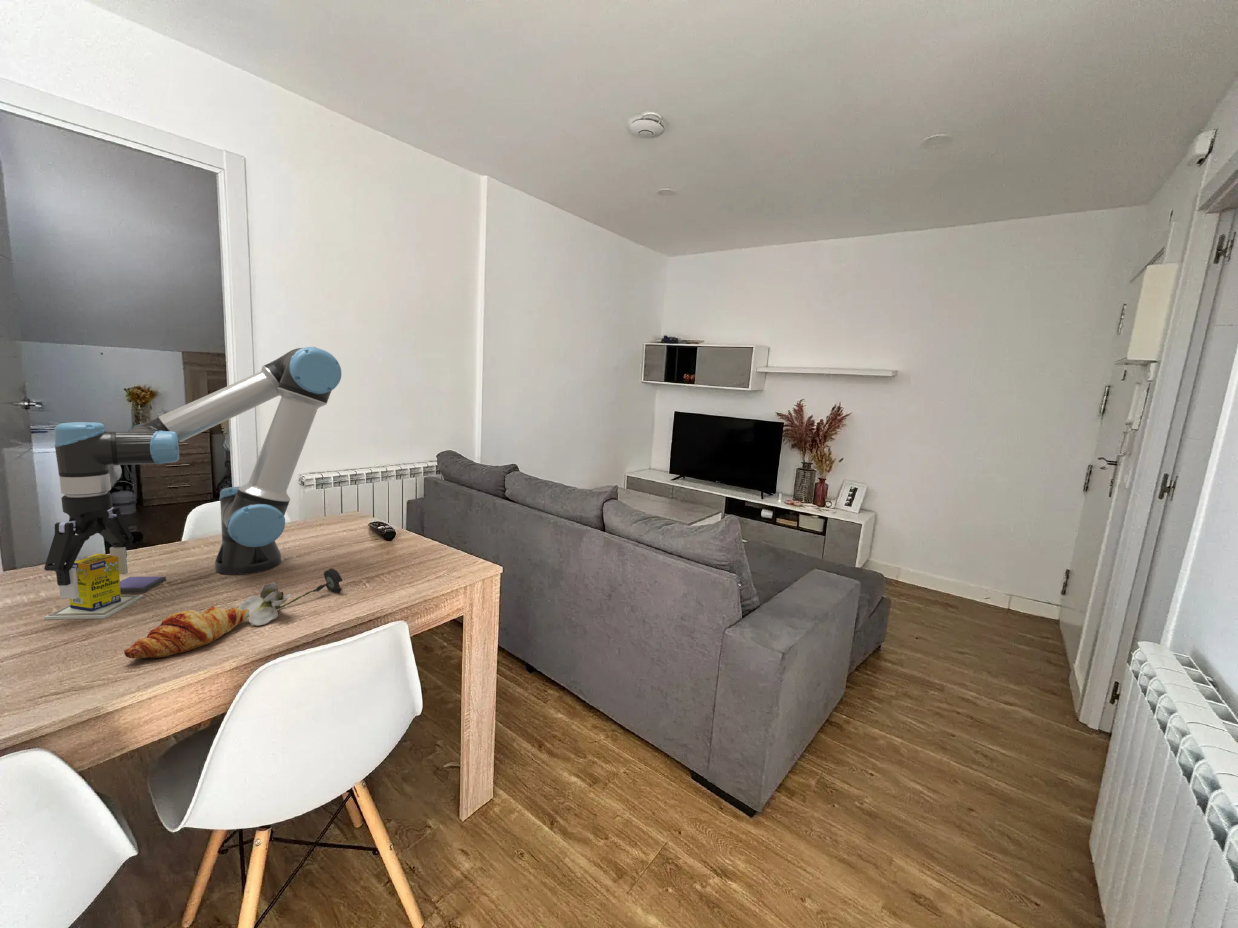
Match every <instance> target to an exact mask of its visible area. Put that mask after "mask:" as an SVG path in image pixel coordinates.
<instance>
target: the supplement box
mask: <svg viewBox="0 0 1238 928" xmlns="http://www.w3.org/2000/svg"><path fill="white" fill-rule="evenodd" d="M72 568H76V575H77V584H78V593H79V597H78V598H76V599H69V604H70V608H74V609H81V610H86V611H94V610H97V609H99V608H102V607H105V606H108V605H111V604H113V603H117V602H120V601H121V595H122V593H121V592H120V581H121V579H120V574H119V564H118V556H111V555H110V554H106V553H105V554H104V553H95V554H93V555H88V556H84V557H80V558H76V560H75V562H74V564H73V566H72Z"/></svg>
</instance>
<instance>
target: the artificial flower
mask: <svg viewBox="0 0 1238 928" xmlns="http://www.w3.org/2000/svg"><path fill="white" fill-rule="evenodd" d="M323 576H324V579H325V582H326V583H325V584H324V583H323V584H320V585H318V586H317V587H316V588H314V589H313V590H312V589H311V590H309V591H307V592H305V593H304V594H302V595H299V596H297V597H296V598H294V599H292V600H291V601H289V602H287V600H288V599H289V598H290V597H291V593H288V594H286V595H285V594H284V592H283V591H280V590H279V587H278V584H277V582H270V583H268V584H264V585H263V586H262V588H261V590H260V592H259V596H258V595H251V596H248V598H247V599H246V600H243V601H242V600H241V602H240V603H239V606H238V608H239V609H242V610H245V609H248V610H249V613H248V622H249V624H250V626H263V625H267V624H268V623H270V622H271V621H272V620H275V619H277V618H278V616H279V612H278V611H277V610H279V609H280V610H281V609H282V608H284V607H286V606H287V605H290V604H292V603H295V602H296V601H297V600H299V599H300V598H304V597H305V596H307V595H310V594H311V593H315V592H319V591H321V590H322V589H324V588H325V587H326V589H327V590H328V591H329V590H331V591H330V592H334V593H336V592H337V593H340V592H342V591H343V588H344V586H342V587H341V586H340V585H341V584H340V583H341V582H343V578H342V576H341V574H340V573H339V572H338V571H337V570H336V569H334V568H331V567H330V568H328V569H327V570H325V571H324V573H323ZM285 602H287V603H285ZM284 603H285V604H284Z"/></svg>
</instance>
